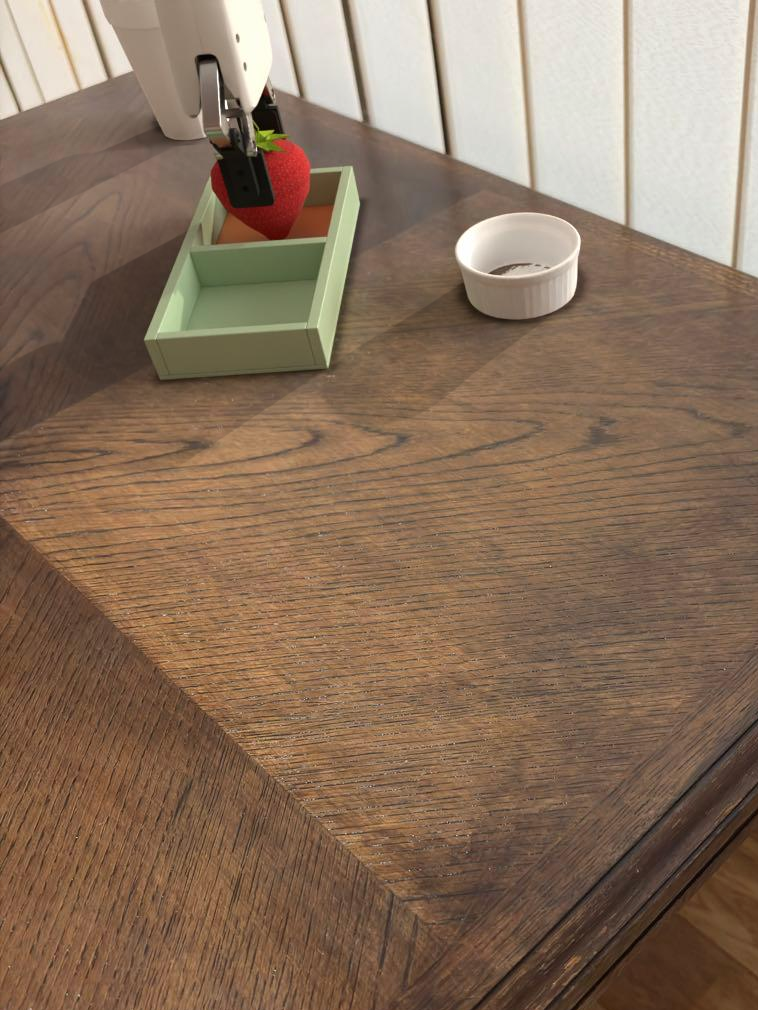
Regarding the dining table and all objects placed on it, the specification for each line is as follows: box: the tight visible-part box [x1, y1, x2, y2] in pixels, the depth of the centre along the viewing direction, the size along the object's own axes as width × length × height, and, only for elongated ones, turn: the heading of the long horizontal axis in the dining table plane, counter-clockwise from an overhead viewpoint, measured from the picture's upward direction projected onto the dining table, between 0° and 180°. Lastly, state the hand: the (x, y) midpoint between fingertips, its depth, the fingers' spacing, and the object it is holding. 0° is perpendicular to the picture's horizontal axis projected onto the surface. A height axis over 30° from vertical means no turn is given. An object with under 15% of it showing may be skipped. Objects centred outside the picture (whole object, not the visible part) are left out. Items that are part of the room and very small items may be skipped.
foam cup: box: [99, 0, 230, 141], centre depth 97 cm, size 10×9×13 cm
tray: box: [143, 165, 361, 381], centre depth 79 cm, size 12×22×4 cm, turn 1°
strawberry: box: [210, 119, 311, 241], centre depth 80 cm, size 6×8×10 cm
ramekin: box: [454, 212, 582, 320], centre depth 76 cm, size 9×9×4 cm
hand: (261, 179), depth 80 cm, fingers closed on strawberry, 6 cm apart
